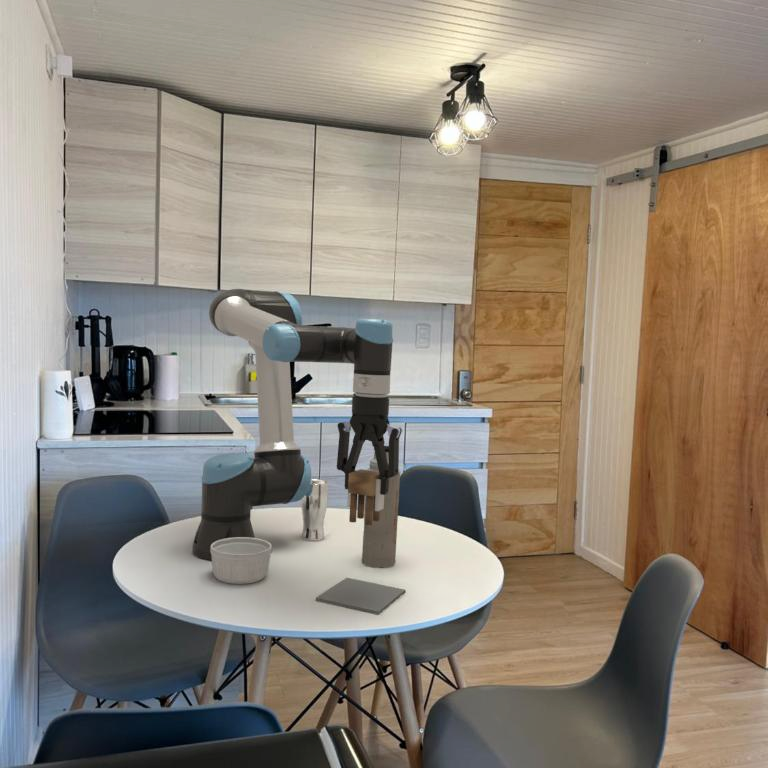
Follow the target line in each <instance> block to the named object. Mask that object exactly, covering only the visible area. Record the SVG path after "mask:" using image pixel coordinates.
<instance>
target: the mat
mask: <svg viewBox="0 0 768 768" xmlns="http://www.w3.org/2000/svg"><path fill="white" fill-rule="evenodd" d="M405 593H406V589H404V588H399V587H394V586H390V585H385V584H379V583H375V582H370V581H366V580H361V579H357V578H351V577H345V578H344V579H341V581H339V582H337V583H336V584H334V585H333V586H331V587H330V588H328V589H326V590H324V592H322V593H321V594H319V595H317V596H316V597H315V601H316V602H320V603H325V604H328V605H329V604H330V605H334V606H338V607H343V608H347V609H351V610H352V609H353V610H357V611H360V612H365V613H368V614H369V613H370V614H374V615H380V614H381V613H382V612H384V611H385V610H387V608H388V607H390V606H391V605H392V604H394V602H396V601H397V600H398V599H399V598H401V597H402V596H403V595H405ZM402 594H403V595H402ZM401 595H402V596H401ZM400 596H401V597H400ZM396 599H397V600H396ZM395 600H396V601H395ZM390 604H391V605H390ZM389 605H390V606H389ZM383 610H384V611H383Z"/></svg>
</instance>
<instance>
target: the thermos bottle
mask: <svg viewBox="0 0 768 768" xmlns="http://www.w3.org/2000/svg"><path fill="white" fill-rule="evenodd" d="M384 447H385V452H386V457H387V461H389V445H384ZM373 453H374V455H373V458H371V459H370V460H369V463H368V465H369V468H366V470H370V471H377V472H379V470H378V465H377V460H376V455H375V451H374V452H373ZM400 479H401V471H400V470H399V473H398V475H396V476H394V477H390V478H389V488H388V489H389V490H388V493H387V494H386V495H384V509H382V510H380V520H379V521H373V516H372V525H366V524H365V518H366V498H367V496H366V495H365V504H364V518H363V524H364V525H363V534H362V548H361V549H362V550H361V551H362V552H361V553H362V554H361V563H362V564H363V565H364V564H365V565H364V566H366V565H367V566H368V567H370V566H371V567H370V568H375V567H386V568H390V566H391V567H393V566H395V564H396V557H397V556H396V555H397V536H398V519H399V516H398V515H399V501H400V486H401V485H400V483H401V480H400ZM373 504H374V497H373ZM367 566H366V567H367Z"/></svg>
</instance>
